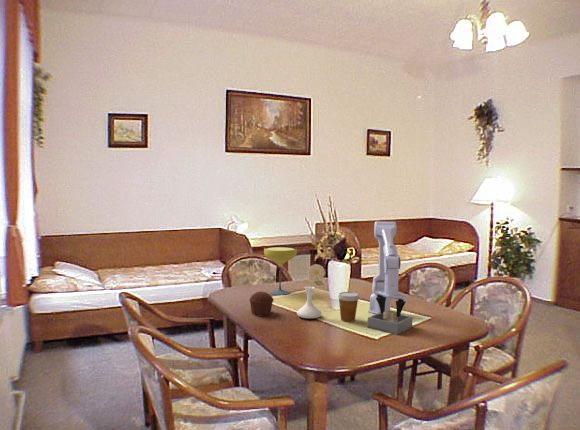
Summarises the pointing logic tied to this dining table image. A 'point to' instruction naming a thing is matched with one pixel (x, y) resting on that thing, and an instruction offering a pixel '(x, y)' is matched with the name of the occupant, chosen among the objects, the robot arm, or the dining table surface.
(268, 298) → the muffin
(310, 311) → the flower in vase
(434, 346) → the dining table surface
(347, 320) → the disposable coffee cup
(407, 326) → the charcoal bin
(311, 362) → the dining table surface
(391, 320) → the birch block
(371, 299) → the robot arm
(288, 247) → the cocktail glass
